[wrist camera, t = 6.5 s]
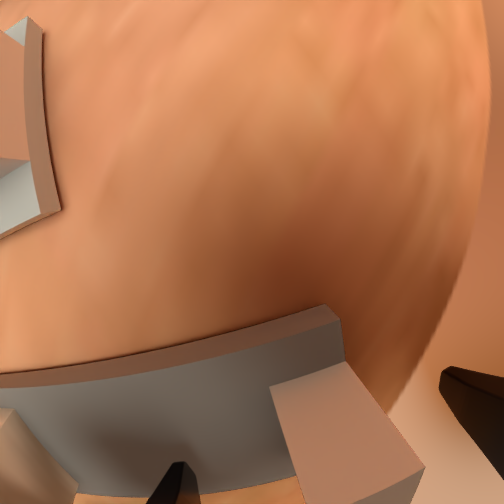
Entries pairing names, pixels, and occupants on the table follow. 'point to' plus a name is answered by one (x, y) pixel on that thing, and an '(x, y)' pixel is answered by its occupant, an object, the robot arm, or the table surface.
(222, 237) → the table surface
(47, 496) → the cream block
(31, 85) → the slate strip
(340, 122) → the table surface
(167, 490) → the robot arm
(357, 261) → the table surface
